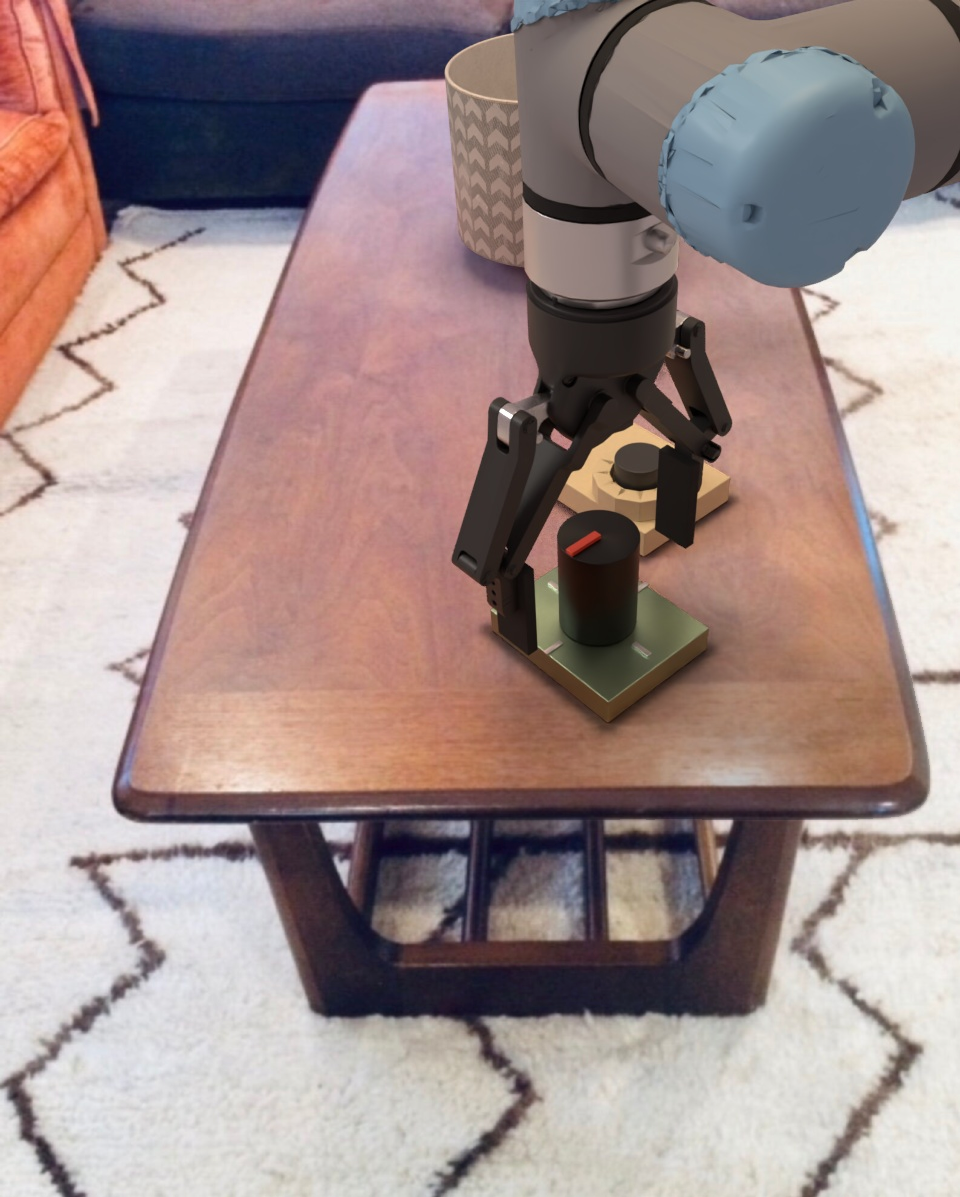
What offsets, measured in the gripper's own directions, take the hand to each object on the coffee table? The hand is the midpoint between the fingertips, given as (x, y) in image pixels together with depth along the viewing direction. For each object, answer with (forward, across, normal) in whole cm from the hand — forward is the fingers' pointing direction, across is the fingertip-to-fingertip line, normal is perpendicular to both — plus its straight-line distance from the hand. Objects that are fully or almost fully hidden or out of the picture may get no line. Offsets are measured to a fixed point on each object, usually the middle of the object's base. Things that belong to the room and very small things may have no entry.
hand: (599, 587), depth 69 cm
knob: (+3, 0, 0) cm, 3 cm away
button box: (+5, +12, +9) cm, 16 cm away
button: (+1, +11, +7) cm, 13 cm away
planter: (+5, +35, +42) cm, 55 cm away
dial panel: (+5, 0, 0) cm, 5 cm away
